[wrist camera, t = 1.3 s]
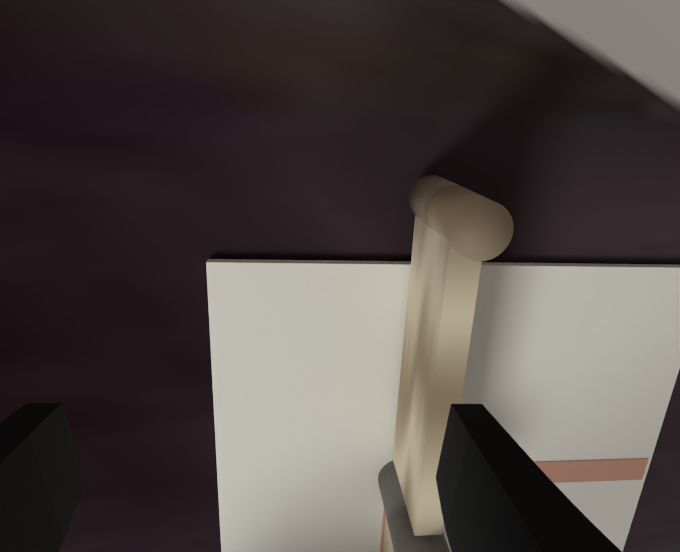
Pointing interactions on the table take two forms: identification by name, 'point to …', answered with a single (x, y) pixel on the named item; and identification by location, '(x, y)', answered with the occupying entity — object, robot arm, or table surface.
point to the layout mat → (384, 377)
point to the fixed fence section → (402, 519)
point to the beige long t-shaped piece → (439, 329)
